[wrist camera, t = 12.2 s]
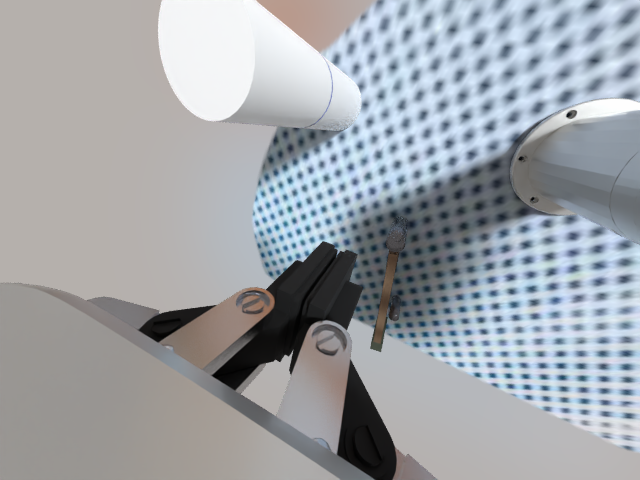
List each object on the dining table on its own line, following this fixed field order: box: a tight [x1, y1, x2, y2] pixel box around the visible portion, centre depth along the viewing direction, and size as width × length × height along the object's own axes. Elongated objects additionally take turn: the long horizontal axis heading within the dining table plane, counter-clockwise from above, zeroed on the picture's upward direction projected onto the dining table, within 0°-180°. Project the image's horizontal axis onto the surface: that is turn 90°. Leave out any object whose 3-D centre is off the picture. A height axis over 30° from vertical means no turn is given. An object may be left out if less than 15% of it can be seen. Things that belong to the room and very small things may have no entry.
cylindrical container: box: [158, 0, 361, 131], centre depth 24 cm, size 7×7×25 cm
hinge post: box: [386, 217, 408, 252], centre depth 34 cm, size 2×2×8 cm
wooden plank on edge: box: [371, 250, 399, 352], centre depth 38 cm, size 19×2×7 cm, turn 179°
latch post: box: [389, 296, 401, 321], centre depth 41 cm, size 2×2×5 cm
